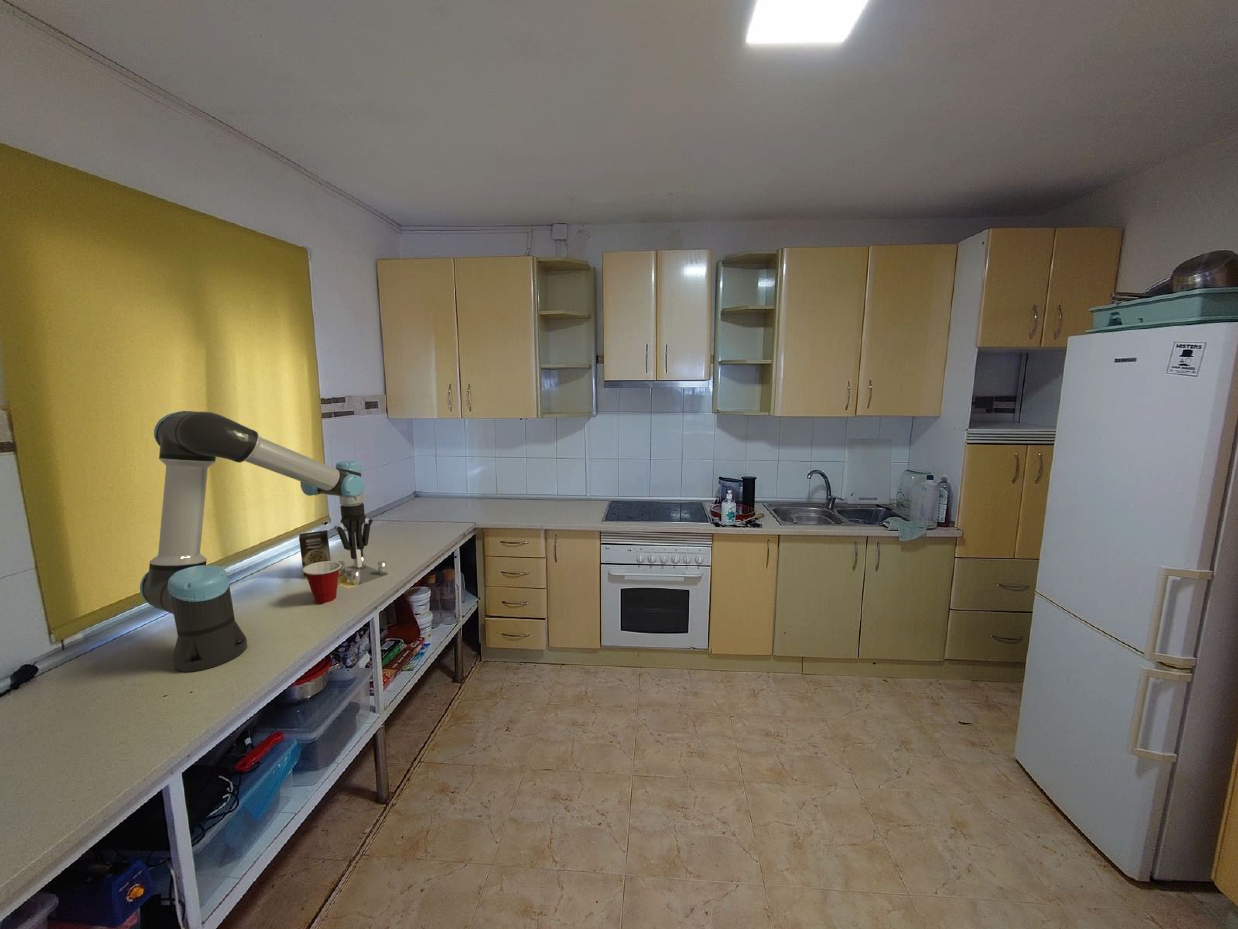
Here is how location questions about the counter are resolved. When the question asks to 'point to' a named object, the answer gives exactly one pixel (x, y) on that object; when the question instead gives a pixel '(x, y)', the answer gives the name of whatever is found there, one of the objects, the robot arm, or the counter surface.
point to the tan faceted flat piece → (342, 578)
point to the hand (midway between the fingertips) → (358, 566)
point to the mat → (366, 576)
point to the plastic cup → (323, 580)
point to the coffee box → (314, 548)
